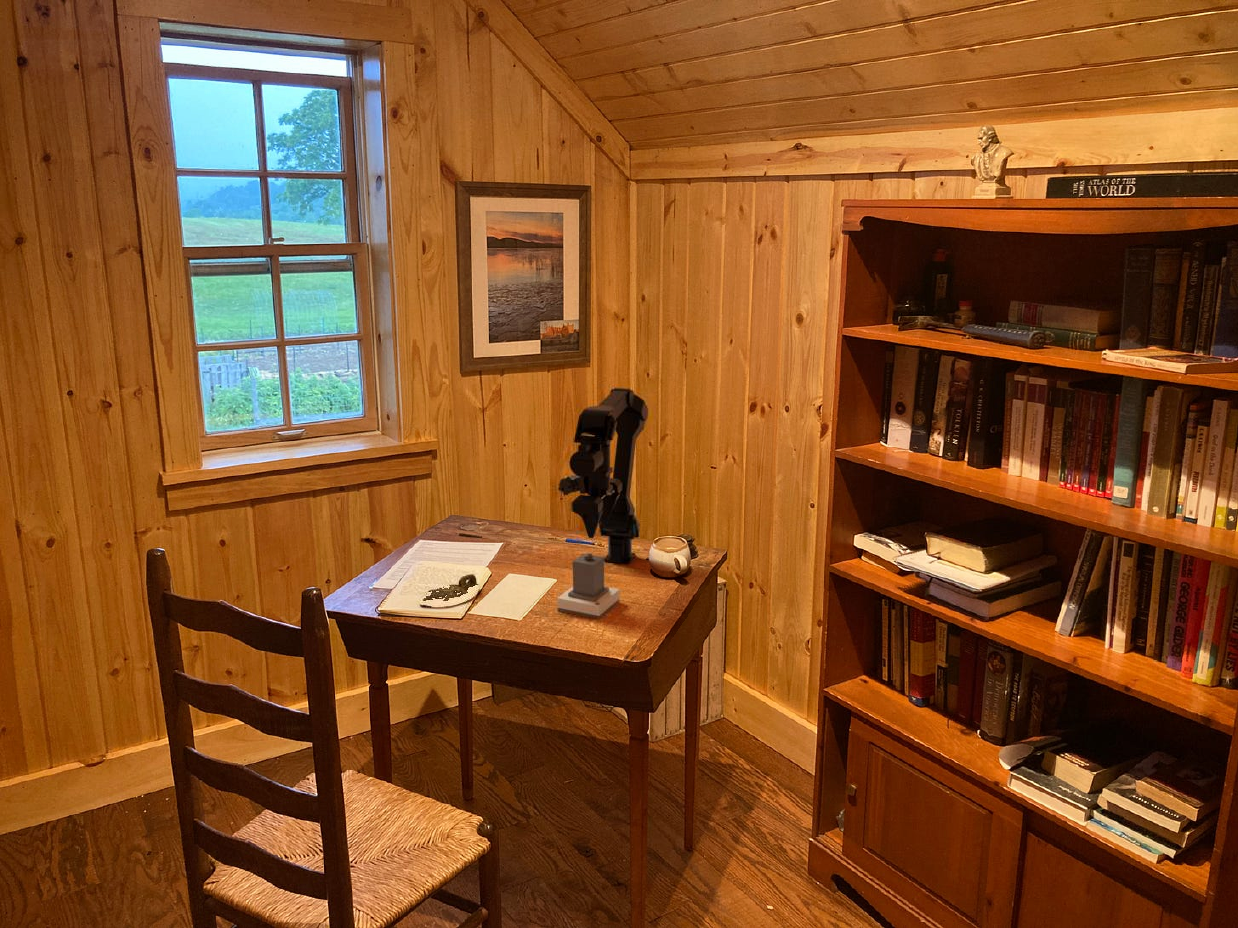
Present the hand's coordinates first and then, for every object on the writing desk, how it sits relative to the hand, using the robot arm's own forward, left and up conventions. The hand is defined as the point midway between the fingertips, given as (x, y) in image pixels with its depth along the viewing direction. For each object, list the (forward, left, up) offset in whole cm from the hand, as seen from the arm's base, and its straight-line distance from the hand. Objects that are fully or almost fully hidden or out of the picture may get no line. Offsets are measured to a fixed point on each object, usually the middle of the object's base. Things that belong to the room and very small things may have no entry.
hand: (597, 531), depth 223 cm
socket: (+12, +2, -13) cm, 18 cm away
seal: (+17, -29, -14) cm, 36 cm away
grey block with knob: (+12, +2, -12) cm, 17 cm away
